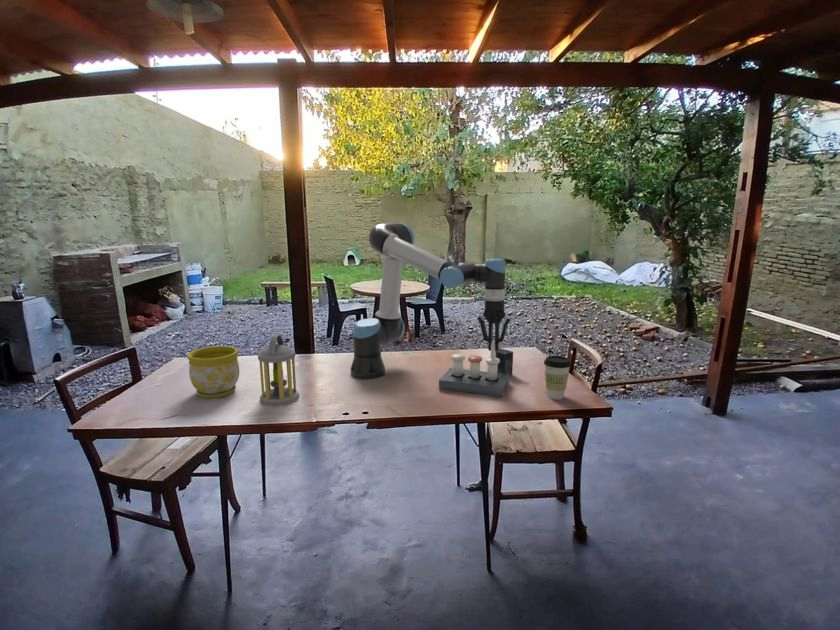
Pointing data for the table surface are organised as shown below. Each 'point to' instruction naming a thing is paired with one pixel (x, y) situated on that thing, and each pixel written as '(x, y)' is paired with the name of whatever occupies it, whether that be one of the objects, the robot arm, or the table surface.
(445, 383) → the mount
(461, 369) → the knob
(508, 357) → the box
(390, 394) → the table surface
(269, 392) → the lantern
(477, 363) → the knob mid
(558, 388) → the coffee cup
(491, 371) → the knob
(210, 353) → the flowerpot
